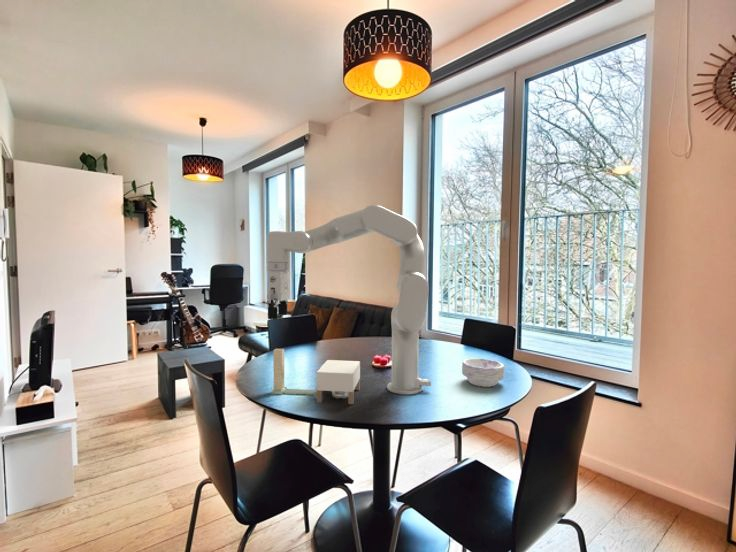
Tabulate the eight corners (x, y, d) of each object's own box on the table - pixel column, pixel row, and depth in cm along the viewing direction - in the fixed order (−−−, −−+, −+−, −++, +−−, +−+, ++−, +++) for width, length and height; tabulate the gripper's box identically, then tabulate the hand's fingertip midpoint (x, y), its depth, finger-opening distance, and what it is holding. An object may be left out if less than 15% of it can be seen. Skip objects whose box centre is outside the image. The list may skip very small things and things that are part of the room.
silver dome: (350, 393, 135) (350, 387, 135) (347, 399, 129) (347, 393, 129) (334, 392, 136) (334, 387, 136) (330, 398, 130) (330, 392, 130)
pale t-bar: (269, 395, 132) (269, 351, 131) (277, 388, 139) (276, 347, 138) (318, 397, 130) (318, 353, 129) (323, 390, 137) (323, 348, 136)
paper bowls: (504, 379, 151) (504, 359, 151) (503, 392, 137) (504, 370, 136) (464, 375, 156) (464, 355, 156) (459, 387, 142) (460, 365, 142)
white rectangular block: (359, 388, 139) (360, 361, 139) (353, 404, 124) (353, 373, 124) (327, 387, 141) (327, 359, 140) (316, 402, 126) (316, 371, 125)
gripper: (279, 268, 124) (279, 321, 125) (296, 267, 141) (296, 313, 142) (257, 267, 125) (257, 320, 126) (276, 266, 142) (276, 313, 143)
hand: (277, 316), depth 134 cm, fingers open, 9 cm apart
